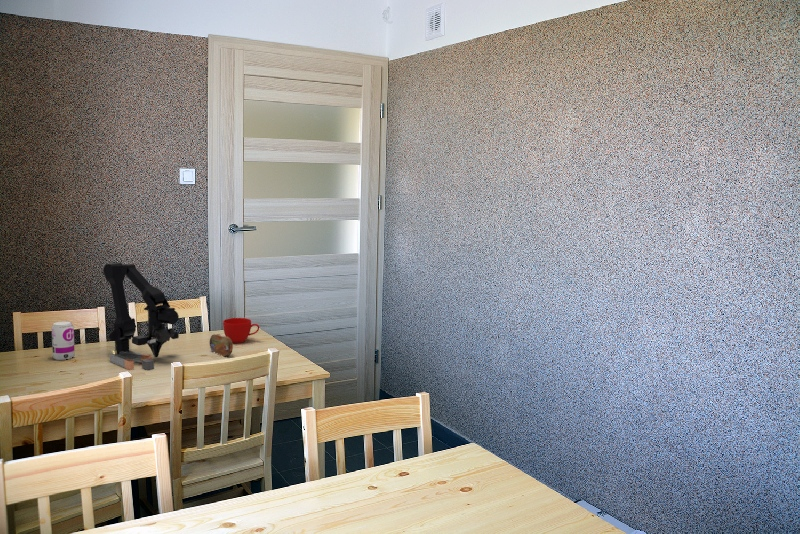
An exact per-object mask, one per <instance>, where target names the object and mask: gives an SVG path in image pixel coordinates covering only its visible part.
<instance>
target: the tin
mask: <svg viewBox="0 0 800 534" xmlns="http://www.w3.org/2000/svg"><path fill="white" fill-rule="evenodd" d="M233 347H234V343H232V340H231V339H230V338H229V337H226V336H225V335H222V334H215V333H213V334H212V335H211V336H210V339H209V348H210V350H211V351H212V353H213V352H215V353H214V354H216V353H218V354H217V355H219V354H220V355H219V356H221V355H222V357H227V356H230V355H232V353H233Z"/></svg>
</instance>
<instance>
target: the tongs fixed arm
mask: <svg viewBox="0 0 800 534" xmlns="http://www.w3.org/2000/svg"><path fill="white" fill-rule="evenodd" d="M109 351H110V353H109V362H110V363H113V364H115V365H117V366H119V367H121V368H124V369H127V370H129V371H132V370H134V369H135V362H134V361H133V360H131V359H128V358H126V357H123V356H121V355H118V354H117V351H116V350H115V349H113V350H109Z"/></svg>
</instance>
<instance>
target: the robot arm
mask: <svg viewBox="0 0 800 534" xmlns="http://www.w3.org/2000/svg"><path fill="white" fill-rule="evenodd" d="M102 271H103V275H104V279H105V280H106V281H107V283H109V285H110V288H111V294H112V300H113V304H114V305H113V306H114V311H115V316H116V317H115V320H114V323H113V331H112V332H111V333H110V334H109V336H108V337H109V340H110V341H112V342H114V350H116V351H117V354H118V355H119V352H121V351H124V352H133V353H134V351H133V350H130V339H131V343H132V344H134V345H135V346H145V345H148V347H149V348H150V349H149V350H150V351H151V352H152V356H153V357H154V358H158V357H159V354H160V351H161V349H162V346H163V345H164V344H165V343H167V342H170V340H171V339H172V340H176V339H179V337H180V335H179V334H180V333H179V332H178V331H176V330H175V329H174V328H173V327H169V328H166V327H165V326H166V325H165V324H167V325H168V324H169V325H176V324H177V323H178V320H179V318H180V317H179V313H178V312H177V311H176V308H175V307H171V305H170V303H169V302H168V300H167V298H166V296H165V294H164V292H163V291H162V290H160V289H159V288H158V287H155V286H153V285H152V284H150V282H149V280H147V279H146V278H145V277H144V276H143V275H142V273H141V272H140V271H139V270H138V268H137V267H136V265H135V264H132V263H128V264H127V263H126V264H123V263H122V262H111V263H106V264H105V265H104V267H103V270H102ZM126 277H127V278H128V280H130V282H131V283H132V285H134V286H135V287H136V289H137V290H138V291H139V292H140V293H141V295H142V296H141V298H142V300H143V302H144V303H145V304H146V306H145V307H144V308H143V310H144V311H147V318H148V319H147V323H146V327H147V330H148V331H147V332H146V336H144V335H141V334H140V335H135V333H136V332H137V329H136V328H137V324H136V319H135V318H132V317H131V316H130V315H129V309H128V304H127V298H126V291H125V288H124V287H125V286H124V281H125V279H126Z"/></svg>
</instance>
